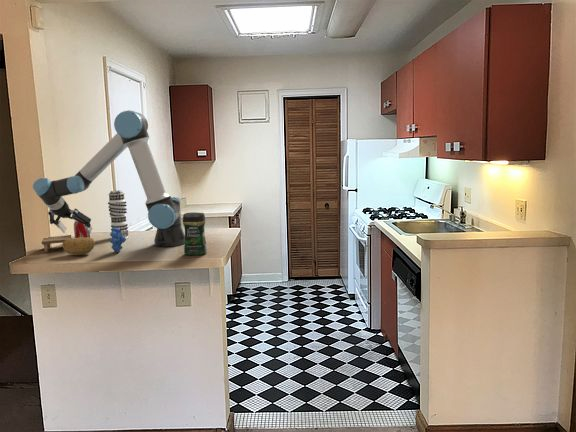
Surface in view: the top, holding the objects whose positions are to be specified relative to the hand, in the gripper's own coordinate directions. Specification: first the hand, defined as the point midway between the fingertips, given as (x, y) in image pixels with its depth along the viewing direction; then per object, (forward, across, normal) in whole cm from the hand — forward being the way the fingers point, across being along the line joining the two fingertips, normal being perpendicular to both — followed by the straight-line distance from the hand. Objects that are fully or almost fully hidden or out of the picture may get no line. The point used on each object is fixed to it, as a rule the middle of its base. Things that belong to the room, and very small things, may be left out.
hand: (77, 230), depth 233 cm
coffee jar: (-9, +66, -19) cm, 69 cm away
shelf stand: (-2, -5, -12) cm, 13 cm away
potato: (-10, +13, -20) cm, 26 cm away
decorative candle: (+16, +14, +6) cm, 22 cm away
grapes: (-7, +30, -17) cm, 35 cm away
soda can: (+6, +1, -4) cm, 8 cm away
